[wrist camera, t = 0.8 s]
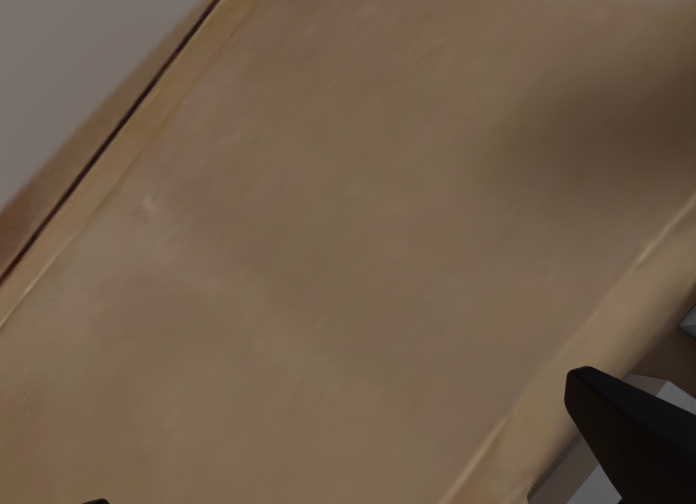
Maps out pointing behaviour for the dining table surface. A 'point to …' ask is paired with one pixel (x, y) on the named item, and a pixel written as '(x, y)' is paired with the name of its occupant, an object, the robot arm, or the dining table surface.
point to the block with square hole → (582, 466)
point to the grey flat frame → (689, 322)
